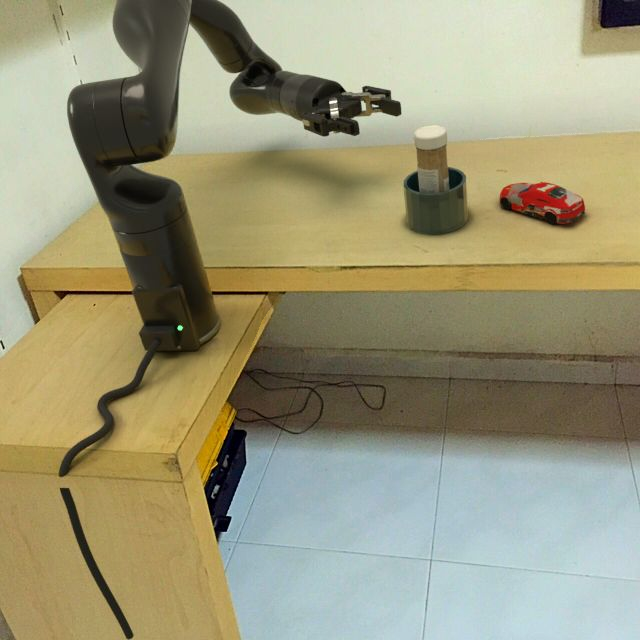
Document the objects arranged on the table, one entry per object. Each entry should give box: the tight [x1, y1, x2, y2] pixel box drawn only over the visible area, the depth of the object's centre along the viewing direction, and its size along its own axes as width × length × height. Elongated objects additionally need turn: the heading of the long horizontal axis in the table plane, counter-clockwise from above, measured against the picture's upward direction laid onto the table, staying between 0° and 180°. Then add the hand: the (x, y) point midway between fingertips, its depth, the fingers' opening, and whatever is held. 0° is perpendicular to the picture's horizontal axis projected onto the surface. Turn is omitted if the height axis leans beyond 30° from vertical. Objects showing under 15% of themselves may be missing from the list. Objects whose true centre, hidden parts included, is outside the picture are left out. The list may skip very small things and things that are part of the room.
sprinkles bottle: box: [413, 125, 450, 193], centre depth 108 cm, size 5×5×14 cm
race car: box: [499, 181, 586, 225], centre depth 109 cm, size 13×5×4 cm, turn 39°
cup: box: [402, 166, 469, 236], centre depth 111 cm, size 9×9×6 cm
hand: (378, 119), depth 112 cm, fingers open, 8 cm apart
